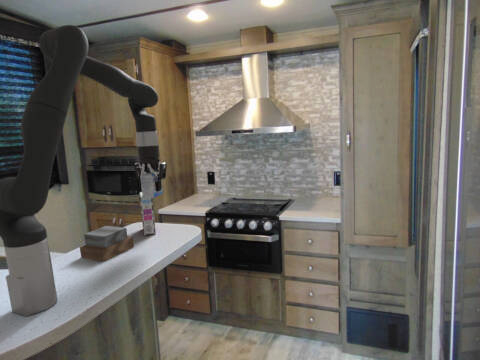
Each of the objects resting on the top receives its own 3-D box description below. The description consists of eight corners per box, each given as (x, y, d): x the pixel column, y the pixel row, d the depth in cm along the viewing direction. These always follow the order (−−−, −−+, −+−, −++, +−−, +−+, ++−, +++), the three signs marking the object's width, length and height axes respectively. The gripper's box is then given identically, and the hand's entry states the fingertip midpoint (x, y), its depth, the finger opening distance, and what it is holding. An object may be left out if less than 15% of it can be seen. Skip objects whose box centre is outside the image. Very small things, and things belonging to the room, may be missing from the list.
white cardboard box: (156, 234, 140) (152, 195, 138) (143, 236, 139) (139, 196, 136) (154, 226, 151) (150, 190, 148) (143, 228, 149) (138, 191, 147)
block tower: (103, 261, 114) (100, 238, 113) (81, 257, 119) (78, 235, 118) (133, 247, 126) (131, 226, 125) (112, 244, 131) (109, 224, 130)
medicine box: (153, 198, 121) (151, 174, 120) (142, 198, 122) (139, 174, 121) (163, 193, 129) (160, 171, 128) (152, 193, 130) (149, 171, 129)
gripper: (125, 146, 123) (130, 192, 125) (156, 144, 116) (161, 193, 119) (140, 144, 129) (144, 188, 132) (170, 143, 123) (174, 189, 125)
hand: (152, 190), depth 125 cm, fingers closed on medicine box, 5 cm apart
